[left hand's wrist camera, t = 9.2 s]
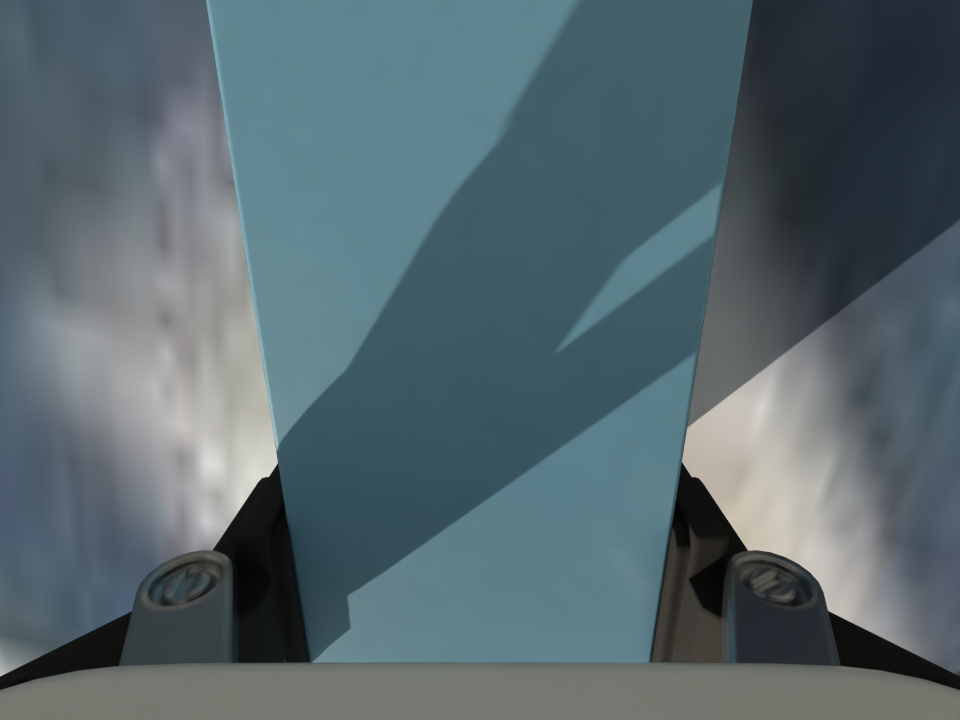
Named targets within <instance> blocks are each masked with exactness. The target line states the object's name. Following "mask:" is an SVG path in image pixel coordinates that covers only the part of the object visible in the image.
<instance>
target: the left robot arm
mask: <svg viewBox="0 0 960 720" xmlns="http://www.w3.org/2000/svg"><path fill="white" fill-rule="evenodd" d="M0 720H960V676H958V675H956V674H954V673H952V672H950V671H948V670H946V669H944V668H942V667H939V666H937V665H935V664H933V663H931V662H929V661H927V660H925V659H923V658H921V657H919V656H917V655H915V654H913V653H911V652H909V651H907V650H905V649H903V648H901V647H899V646H897V645H895V644H893V643H891V642H889V641H887V640H885V639H883V638H881V637H879V636H877V635H875V634H873V633H871V632H869V631H867V630H865V629H863V628H861V627H859V626H857V625H855V624H853V623H851V622H849V621H847V620H845V619H843V618H841V617H839V616H837V615H835V614H833V613H831V612H829V611H828V609H827V605H826V601H825V597H824V593H823V590H822V588H821V586H820V584H819V582H818V581H817V580H816V579H815V578H814V577H813V575H812V574H811V573H810V572H808V571H807V570H806V569H804V568H803V567H802V566H800V565H799V564H797V563H795V562H793V561H791V560H789V559H787V558H786V557H783V556H780V555H777V554H774V553H771V552H764V551H758V550H754V551H748V550H747V548H746V547H745V545H744V544H743V543H742V541H741V540H740V538H739V537H738V535H737V534H736V532H735V531H734V529H733V528H732V526H731V525H730V523H729V522H728V520H727V519H726V517H725V516H724V514H723V513H722V511H721V510H720V508H719V507H718V505H717V504H716V502H715V501H714V499H713V498H712V496H711V495H710V493H709V492H708V490H707V489H706V487H705V486H704V484H703V483H702V482H701V481H700V479H699V478H696V477H691V475H690V474H689V472H688V471H687V469H686V468H685V466H684V465H683V463H682V464H681V470H680V477H679V483H678V490H677V496H676V503H675V509H674V515H673V522H672V528H671V535H670V541H669V548H668V554H667V561H666V567H665V574H664V580H663V587H662V593H661V600H660V606H659V613H658V619H657V626H656V632H655V639H654V645H653V651H652V658H651V663H618V662H342V663H309V658H308V651H307V645H306V638H305V632H304V625H303V619H302V612H301V606H300V599H299V593H298V587H297V580H296V574H295V567H294V561H293V554H292V548H291V541H290V535H289V529H288V523H287V516H286V510H285V503H284V497H283V491H282V484H281V478H280V471H279V465H278V464H277V466H276V467H275V469H274V470H273V472H272V473H271V475H270V476H269V477H265V478H262V479H261V480H260V481H259V482H258V484H257V485H256V487H255V488H254V490H253V491H252V493H251V494H250V496H249V497H248V499H247V500H246V502H245V503H244V505H243V506H242V508H241V509H240V511H239V512H238V514H237V515H236V517H235V518H234V519H233V521H232V522H231V524H230V525H229V527H228V528H227V530H226V531H225V533H224V534H223V536H222V537H221V539H220V540H219V542H218V543H217V545H216V546H215V548H214V549H213V551H206V550H202V551H196V552H189V553H186V554H183V555H180V556H177V557H174V558H173V559H171V560H169V561H167V562H165V563H163V564H161V565H160V566H158V567H157V568H156V569H154V570H153V571H152V572H150V573H149V574H148V575H147V577H146V578H145V579H144V580H143V581H142V582H141V584H140V586H139V588H138V590H137V593H136V597H135V601H134V605H133V609H132V612H130V613H128V614H126V615H124V616H122V617H120V618H118V619H116V620H114V621H111V622H109V623H107V624H105V625H103V626H101V627H99V628H97V629H95V630H93V631H91V632H89V633H87V634H85V635H83V636H81V637H79V638H77V639H75V640H73V641H71V642H69V643H67V644H65V645H63V646H61V647H59V648H57V649H55V650H53V651H51V652H49V653H47V654H45V655H43V656H41V657H39V658H37V659H35V660H33V661H31V662H29V663H27V664H25V665H23V666H21V667H19V668H17V669H15V670H13V671H11V672H9V673H7V674H5V675H3V676H1V677H0Z"/></svg>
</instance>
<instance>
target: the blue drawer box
mask: <svg viewBox="0 0 960 720" xmlns="http://www.w3.org/2000/svg"><path fill="white" fill-rule="evenodd" d="M206 2H207V8H208V15H209V21H210V28H211V34H212V40H213V47H214V53H215V60H216V66H217V73H218V79H219V85H220V92H221V98H222V105H223V111H224V118H225V124H226V130H227V137H228V143H229V150H230V156H231V163H232V169H233V175H234V182H235V188H236V195H237V201H238V208H239V214H240V221H241V227H242V233H243V240H244V246H245V253H246V259H247V266H248V272H249V278H250V285H251V291H252V298H253V304H254V311H255V317H256V323H257V330H258V336H259V343H260V349H261V356H262V362H263V368H264V375H265V381H266V388H267V394H268V401H269V407H270V413H271V420H272V426H273V433H274V439H275V446H276V452H277V458H278V465H279V471H280V478H281V484H282V491H283V497H284V503H285V510H286V516H287V523H288V529H289V535H290V541H291V548H292V554H293V561H294V567H295V574H296V580H297V587H298V593H299V599H300V606H301V612H302V619H303V625H304V632H305V638H306V645H307V651H308V658H309V663H342V662H618V663H651V658H652V651H653V645H654V639H655V632H656V626H657V619H658V613H659V606H660V600H661V593H662V587H663V580H664V574H665V567H666V561H667V554H668V548H669V541H670V535H671V528H672V522H673V515H674V509H675V503H676V496H677V490H678V483H679V477H680V470H681V464H682V457H683V451H684V444H685V438H686V431H687V425H688V418H689V412H690V405H691V399H692V392H693V386H694V379H695V373H696V367H697V360H698V354H699V347H700V341H701V334H702V328H703V321H704V315H705V308H706V302H707V295H708V289H709V282H710V276H711V269H712V263H713V256H714V250H715V243H716V237H717V230H718V224H719V218H720V211H721V205H722V198H723V192H724V185H725V179H726V172H727V166H728V159H729V153H730V146H731V140H732V133H733V127H734V120H735V114H736V107H737V101H738V94H739V88H740V82H741V75H742V69H743V62H744V56H745V49H746V43H747V36H748V30H749V23H750V17H751V10H752V4H753V0H206Z"/></svg>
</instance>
